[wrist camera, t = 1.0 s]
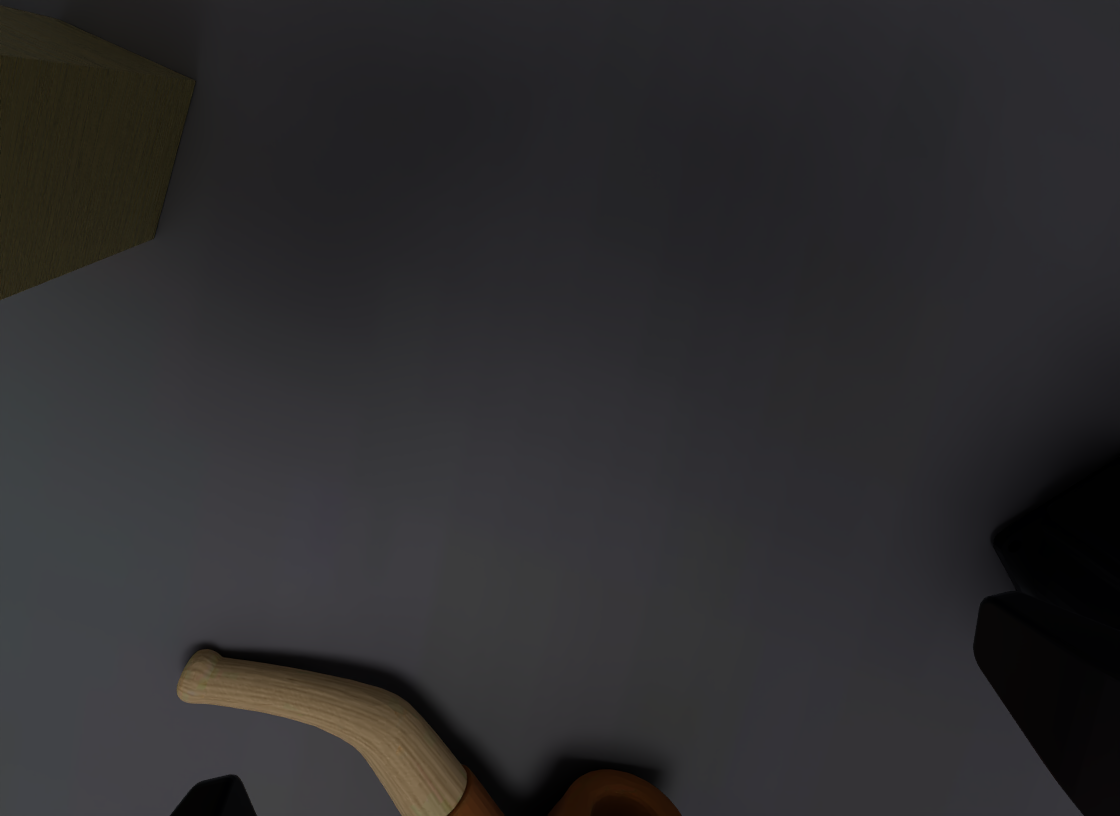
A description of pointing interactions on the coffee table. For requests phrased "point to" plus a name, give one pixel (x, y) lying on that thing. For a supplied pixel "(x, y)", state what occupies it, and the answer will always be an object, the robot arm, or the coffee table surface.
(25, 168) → the olive block with rod
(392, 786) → the smoking pipe
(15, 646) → the coffee table surface
